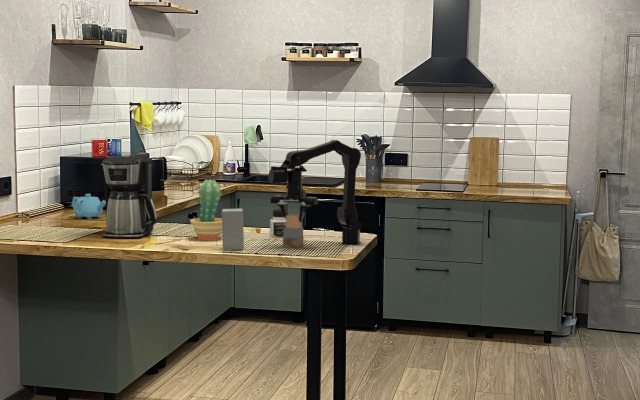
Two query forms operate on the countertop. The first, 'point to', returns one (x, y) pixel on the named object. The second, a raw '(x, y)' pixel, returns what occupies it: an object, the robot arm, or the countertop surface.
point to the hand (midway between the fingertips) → (294, 221)
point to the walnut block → (293, 242)
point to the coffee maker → (128, 197)
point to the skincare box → (232, 229)
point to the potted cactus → (208, 212)
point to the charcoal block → (293, 233)
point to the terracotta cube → (293, 221)
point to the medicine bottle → (277, 224)
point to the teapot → (87, 206)
